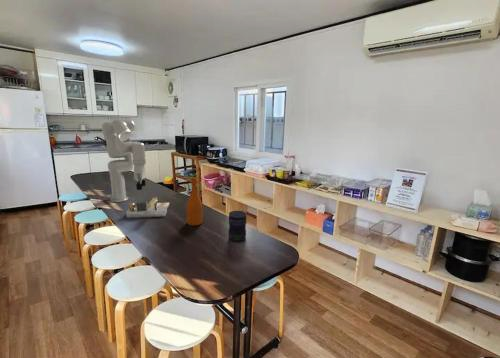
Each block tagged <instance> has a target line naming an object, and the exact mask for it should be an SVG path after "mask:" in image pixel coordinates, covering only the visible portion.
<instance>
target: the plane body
mask: <svg viewBox="0 0 500 358" xmlns="http://www.w3.org/2000/svg"><path fill="white" fill-rule="evenodd" d="M157 203H158V201H157V202H156V203H155V204H154V207H152V208H148V209H147V210H139V211H137V206H136V203H135V202H130V203H128V209H127V210H126V219H127V218H152V217H155V218H157V217H158V218H159V217H166V215H167V213H168V208H167V206H157Z"/></svg>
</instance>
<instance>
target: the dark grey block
mask: <svg viewBox="0 0 500 358" xmlns="http://www.w3.org/2000/svg"><path fill="white" fill-rule="evenodd" d="M148 203H149V202H148V200H138V201H137V202H136V203H135V206H136V207H137V211H139V210H147V209H148Z"/></svg>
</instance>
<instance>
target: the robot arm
mask: <svg viewBox="0 0 500 358" xmlns="http://www.w3.org/2000/svg"><path fill="white" fill-rule="evenodd" d="M135 129H136V125H135V122H134V121H133V120H132V119H129V118H128V119H127V118H126V119H124V118H118V119H114V120H112V121H106V122H103V123H102V125H101V131H102V134H103V137H104V138H105V141H106V149H107V154H108V157H109V158H110V159H113V160H110V161H109V162H108V163H107V169H108V172H109V178H110V188H111V194H106V198H107V199H109V201H110V202H112V203H120V202H121V203H122V202H125V201H128V200H129V196H127V192H126V181H125V176H124V175H123V174H122V173H124V172H131V171H132V170H133V179H134V181H135V183H136V184H135V185H136V190H137V191H142V190H143V187H146V167H145V165H146V162H147V161H146V148H145V144H144V143H143V142H141V141H127V140H130V138H131V137H132V132H133V131H134V130H135ZM122 158H123V159H122ZM114 159H115V160H114Z"/></svg>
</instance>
